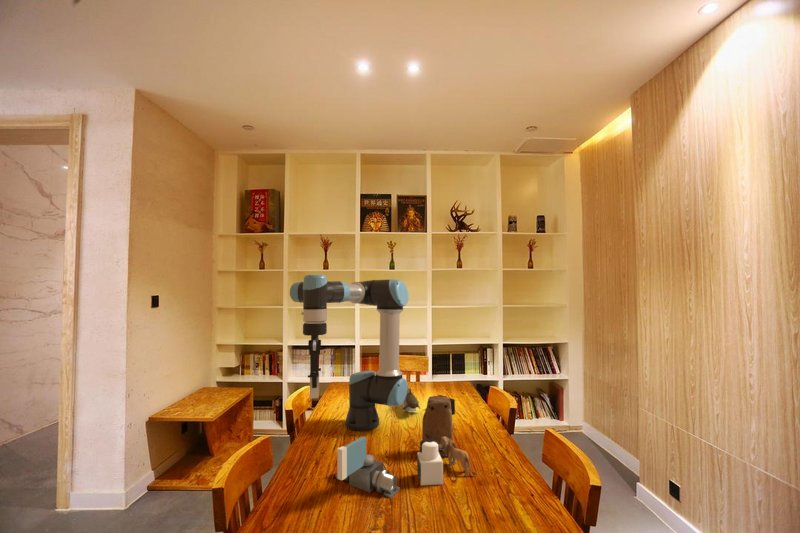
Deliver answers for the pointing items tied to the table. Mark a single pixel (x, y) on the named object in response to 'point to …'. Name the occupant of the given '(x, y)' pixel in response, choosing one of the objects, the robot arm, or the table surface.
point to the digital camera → (451, 405)
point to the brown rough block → (438, 420)
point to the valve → (374, 479)
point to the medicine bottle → (429, 463)
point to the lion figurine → (455, 454)
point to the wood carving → (410, 402)
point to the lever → (352, 458)
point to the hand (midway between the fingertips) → (314, 394)
